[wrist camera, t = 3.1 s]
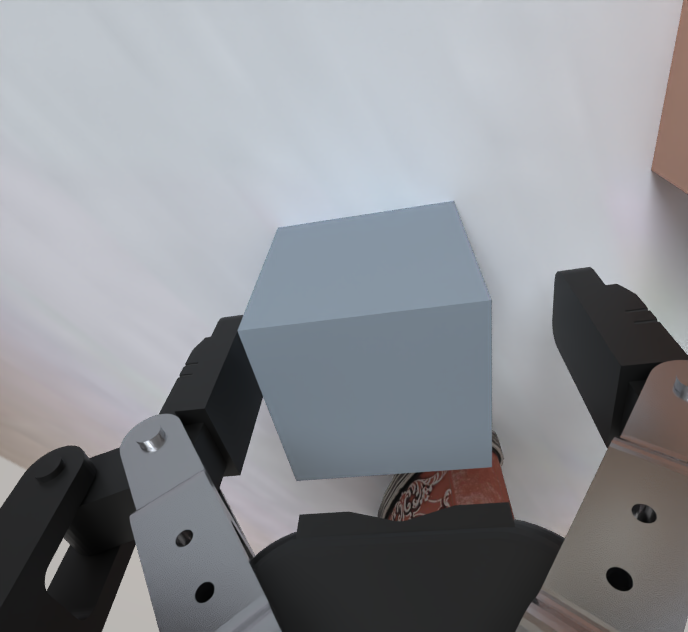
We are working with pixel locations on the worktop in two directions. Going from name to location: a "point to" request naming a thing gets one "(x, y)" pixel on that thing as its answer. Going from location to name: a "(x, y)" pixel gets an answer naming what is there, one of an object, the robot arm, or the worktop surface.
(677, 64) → the terracotta block
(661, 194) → the worktop surface
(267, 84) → the worktop surface
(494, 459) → the lighter
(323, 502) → the worktop surface
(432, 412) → the slate block
